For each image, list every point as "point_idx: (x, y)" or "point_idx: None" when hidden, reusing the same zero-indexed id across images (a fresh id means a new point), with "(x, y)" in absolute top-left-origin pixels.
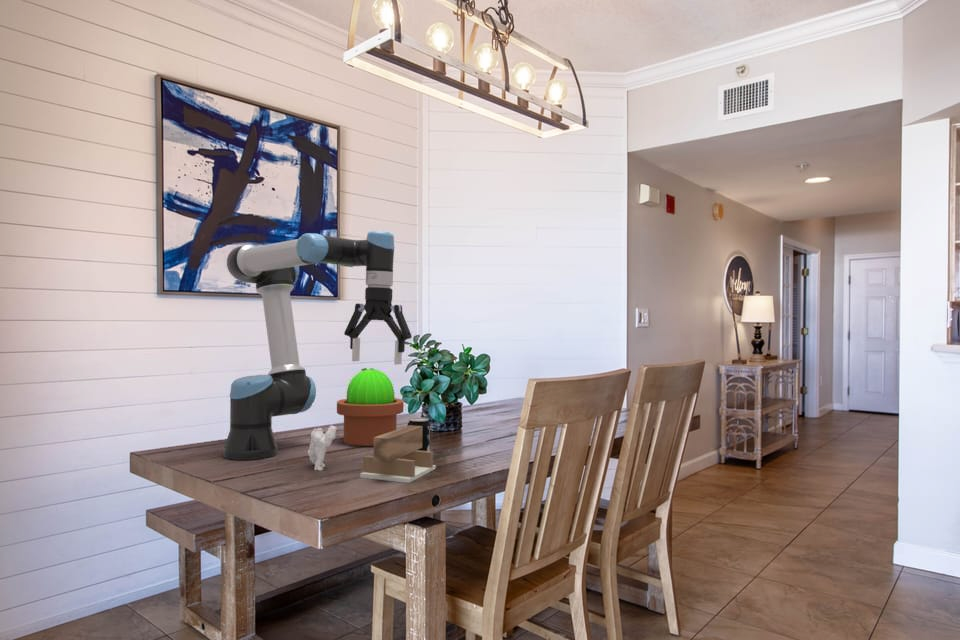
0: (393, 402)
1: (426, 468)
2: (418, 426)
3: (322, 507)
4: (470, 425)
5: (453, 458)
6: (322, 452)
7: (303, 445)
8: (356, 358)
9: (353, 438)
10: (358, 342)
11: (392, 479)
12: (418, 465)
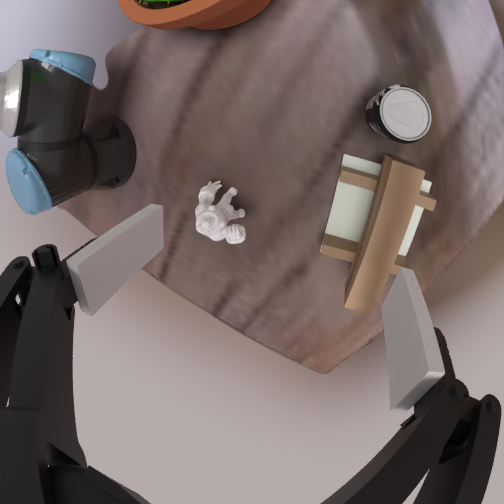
0: None
1: (419, 208)
2: (416, 175)
3: (315, 354)
4: None
5: (444, 95)
6: (232, 218)
7: (135, 66)
8: (155, 237)
9: (204, 27)
10: (100, 268)
11: None
12: None
